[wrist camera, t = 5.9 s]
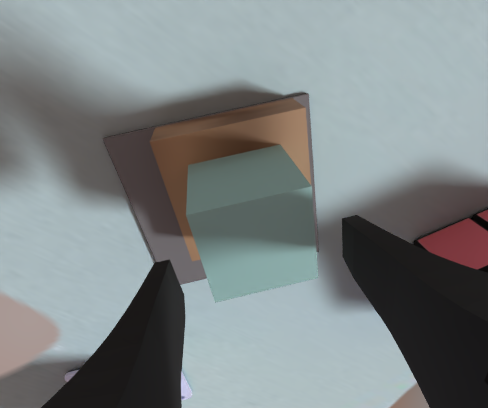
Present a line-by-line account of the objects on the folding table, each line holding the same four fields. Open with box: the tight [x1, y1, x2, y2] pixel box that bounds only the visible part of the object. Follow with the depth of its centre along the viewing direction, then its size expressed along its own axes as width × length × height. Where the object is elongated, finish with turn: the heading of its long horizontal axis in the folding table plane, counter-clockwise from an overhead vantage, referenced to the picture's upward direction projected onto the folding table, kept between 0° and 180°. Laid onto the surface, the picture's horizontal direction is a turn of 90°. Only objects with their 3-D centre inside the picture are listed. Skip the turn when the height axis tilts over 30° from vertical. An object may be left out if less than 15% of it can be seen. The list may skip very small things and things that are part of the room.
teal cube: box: [186, 145, 318, 303], centre depth 15 cm, size 5×5×5 cm
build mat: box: [103, 93, 319, 285], centre depth 20 cm, size 12×12×1 cm
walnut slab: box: [150, 98, 311, 261], centre depth 18 cm, size 8×8×2 cm
